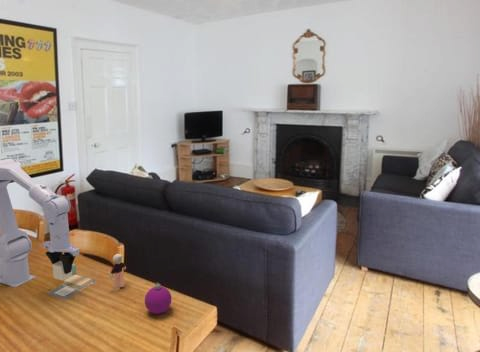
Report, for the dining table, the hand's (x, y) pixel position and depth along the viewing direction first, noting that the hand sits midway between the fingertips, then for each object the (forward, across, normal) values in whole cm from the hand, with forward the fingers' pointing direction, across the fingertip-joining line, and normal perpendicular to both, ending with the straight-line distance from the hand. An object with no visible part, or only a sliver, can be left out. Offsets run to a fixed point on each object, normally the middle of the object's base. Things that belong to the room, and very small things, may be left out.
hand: (63, 271), depth 123 cm
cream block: (+2, 0, 0) cm, 2 cm away
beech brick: (+7, 0, +6) cm, 9 cm away
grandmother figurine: (+8, +14, +10) cm, 20 cm away
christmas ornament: (+8, +36, +4) cm, 37 cm away
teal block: (+8, -7, +8) cm, 13 cm away
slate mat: (+8, 0, +4) cm, 9 cm away
